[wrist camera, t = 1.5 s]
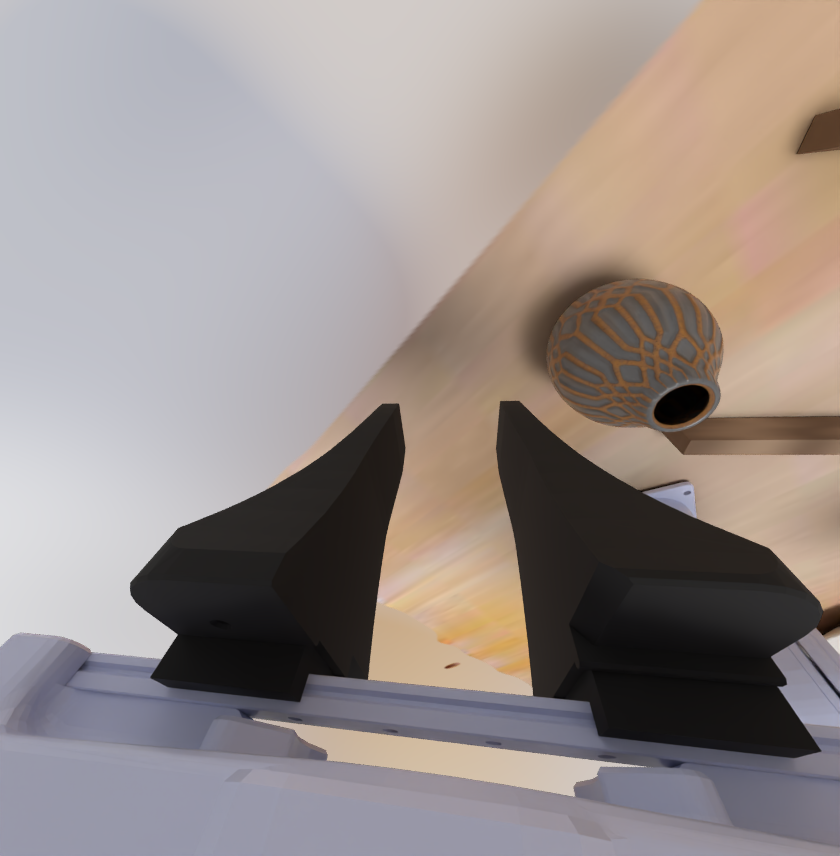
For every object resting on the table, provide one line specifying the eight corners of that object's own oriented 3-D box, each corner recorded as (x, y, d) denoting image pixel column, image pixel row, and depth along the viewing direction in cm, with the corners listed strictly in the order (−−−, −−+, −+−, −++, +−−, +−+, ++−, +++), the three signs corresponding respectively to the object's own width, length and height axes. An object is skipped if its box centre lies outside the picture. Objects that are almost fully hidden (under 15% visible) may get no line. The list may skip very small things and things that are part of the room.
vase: (515, 320, 18) (553, 388, 11) (638, 238, 15) (794, 260, 8) (562, 400, 21) (617, 494, 14) (673, 343, 18) (813, 426, 11)
